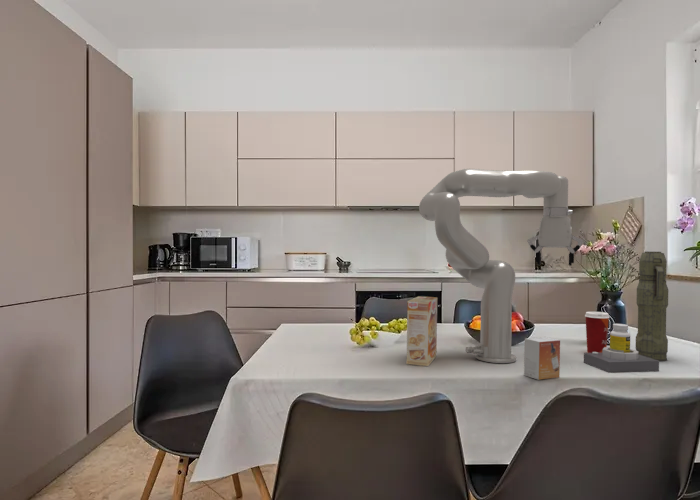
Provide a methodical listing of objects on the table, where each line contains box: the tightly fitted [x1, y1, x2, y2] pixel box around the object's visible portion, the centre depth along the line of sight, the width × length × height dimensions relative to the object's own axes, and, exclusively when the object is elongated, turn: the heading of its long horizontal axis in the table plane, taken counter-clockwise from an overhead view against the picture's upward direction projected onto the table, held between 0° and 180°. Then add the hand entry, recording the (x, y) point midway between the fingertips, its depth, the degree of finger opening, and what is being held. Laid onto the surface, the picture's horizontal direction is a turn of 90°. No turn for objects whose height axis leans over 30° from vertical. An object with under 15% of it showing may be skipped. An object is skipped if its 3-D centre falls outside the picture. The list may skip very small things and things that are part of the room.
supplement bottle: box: [609, 323, 631, 353], centre depth 148 cm, size 5×5×10 cm
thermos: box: [635, 251, 669, 363], centre depth 159 cm, size 9×12×35 cm
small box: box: [523, 336, 561, 381], centre depth 136 cm, size 8×6×10 cm
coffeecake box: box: [406, 295, 438, 367], centre depth 154 cm, size 15×7×20 cm, turn 160°
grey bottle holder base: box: [583, 346, 660, 373], centre depth 148 cm, size 16×12×5 cm
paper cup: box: [584, 311, 610, 353], centre depth 165 cm, size 8×8×14 cm
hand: (554, 265), depth 162 cm, fingers open, 9 cm apart
